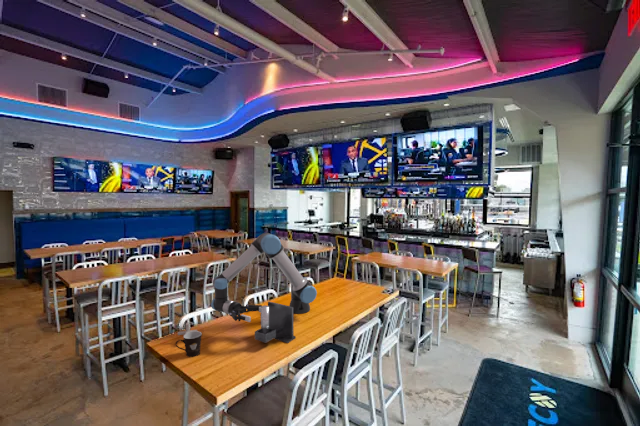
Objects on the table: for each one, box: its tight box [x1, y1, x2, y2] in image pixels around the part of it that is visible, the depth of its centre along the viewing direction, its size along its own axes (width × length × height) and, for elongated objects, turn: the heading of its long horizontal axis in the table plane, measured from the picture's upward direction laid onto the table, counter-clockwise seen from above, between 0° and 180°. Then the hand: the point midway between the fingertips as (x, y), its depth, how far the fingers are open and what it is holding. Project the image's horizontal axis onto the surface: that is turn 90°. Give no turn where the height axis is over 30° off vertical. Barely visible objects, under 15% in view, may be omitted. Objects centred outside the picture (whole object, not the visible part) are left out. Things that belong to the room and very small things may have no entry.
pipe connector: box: [177, 322, 198, 336], centre depth 172 cm, size 10×10×10 cm
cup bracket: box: [254, 301, 297, 344], centre depth 171 cm, size 19×18×19 cm
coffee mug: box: [175, 330, 203, 358], centre depth 158 cm, size 12×9×10 cm
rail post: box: [260, 305, 269, 334], centre depth 167 cm, size 4×4×16 cm
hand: (259, 315), depth 168 cm, fingers open, 13 cm apart
